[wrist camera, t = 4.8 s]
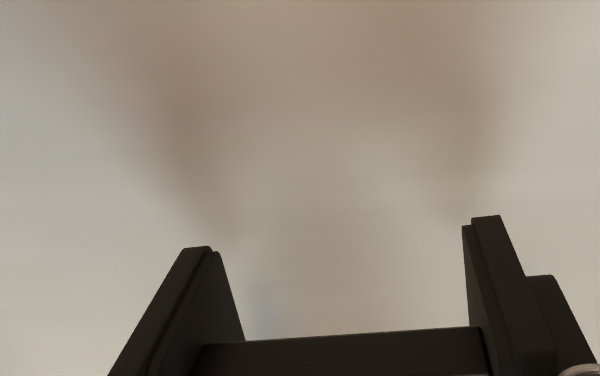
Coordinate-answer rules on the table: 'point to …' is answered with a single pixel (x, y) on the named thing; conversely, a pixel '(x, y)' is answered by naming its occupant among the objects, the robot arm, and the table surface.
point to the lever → (353, 355)
